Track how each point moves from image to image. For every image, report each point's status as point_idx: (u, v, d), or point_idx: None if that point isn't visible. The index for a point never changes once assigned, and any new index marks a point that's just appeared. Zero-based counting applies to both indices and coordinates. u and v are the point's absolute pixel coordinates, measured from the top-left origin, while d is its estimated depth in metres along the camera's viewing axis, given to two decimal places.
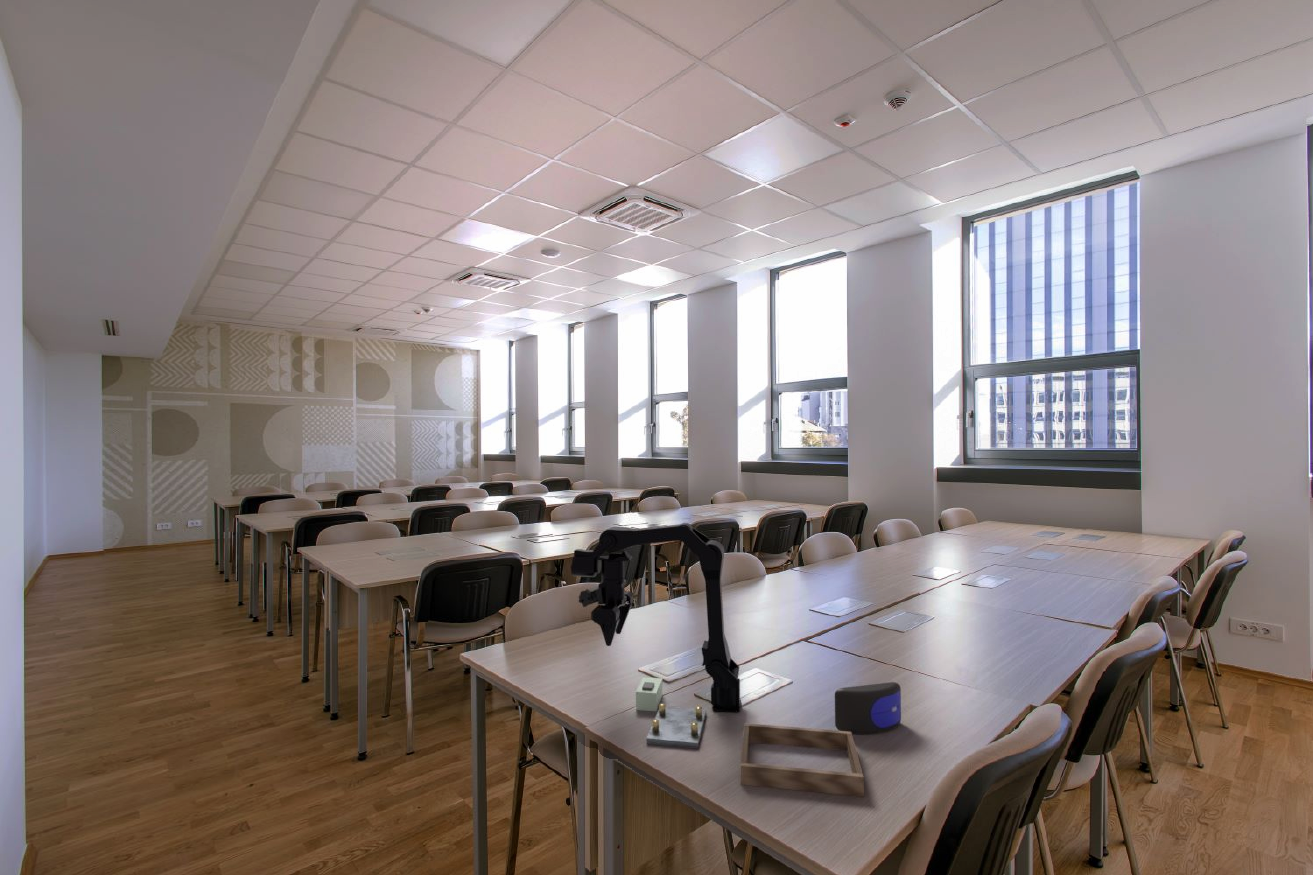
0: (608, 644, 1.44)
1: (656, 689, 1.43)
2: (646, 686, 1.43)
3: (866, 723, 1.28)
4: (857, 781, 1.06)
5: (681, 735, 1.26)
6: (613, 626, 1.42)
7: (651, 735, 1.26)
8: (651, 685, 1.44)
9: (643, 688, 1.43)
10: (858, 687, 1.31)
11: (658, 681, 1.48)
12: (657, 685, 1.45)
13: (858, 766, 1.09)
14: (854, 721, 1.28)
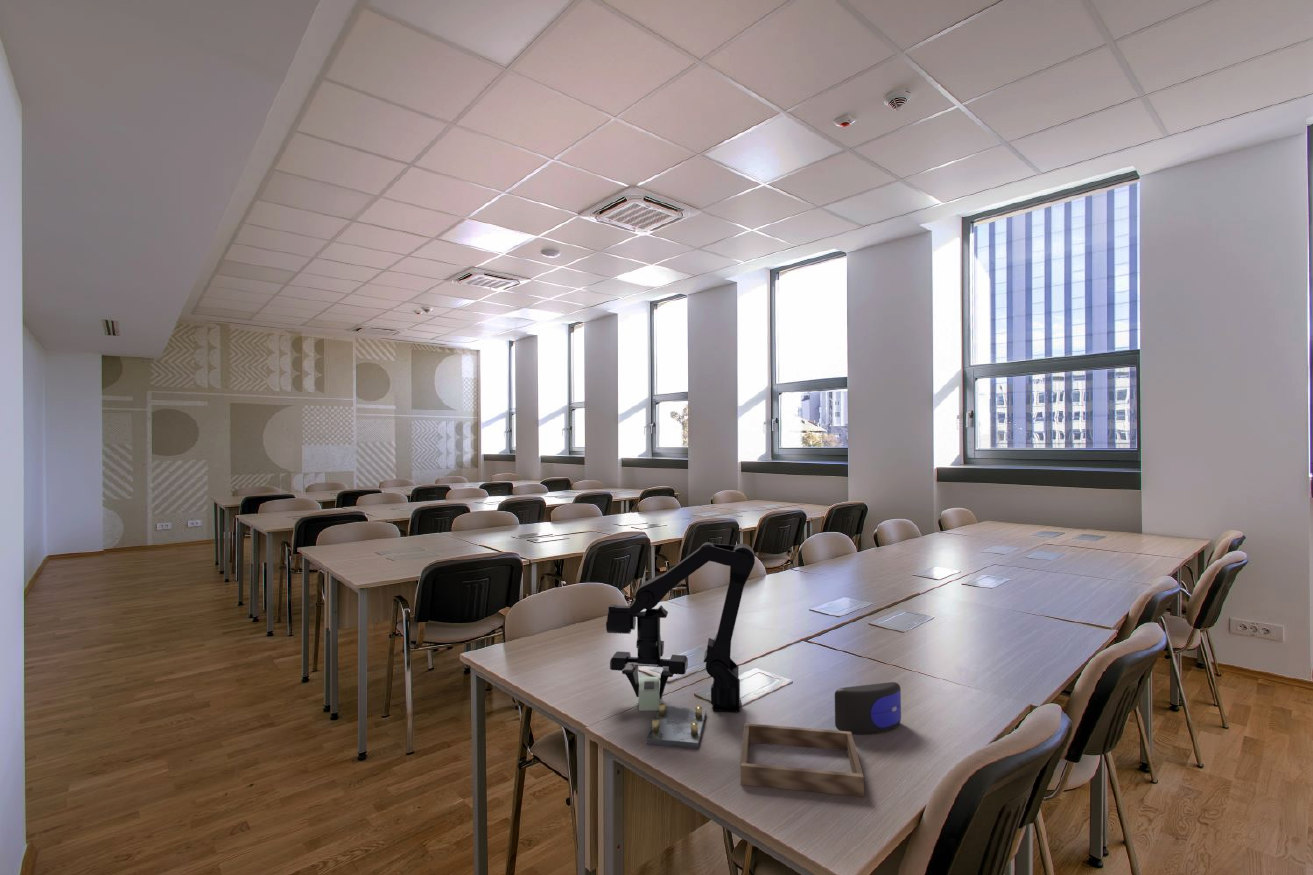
0: None
1: (658, 687, 1.43)
2: (647, 685, 1.43)
3: (866, 722, 1.28)
4: (857, 781, 1.06)
5: (681, 735, 1.26)
6: None
7: (651, 735, 1.26)
8: (652, 684, 1.44)
9: (645, 687, 1.43)
10: (857, 687, 1.31)
11: (656, 680, 1.48)
12: (657, 683, 1.46)
13: (858, 766, 1.09)
14: (854, 721, 1.28)
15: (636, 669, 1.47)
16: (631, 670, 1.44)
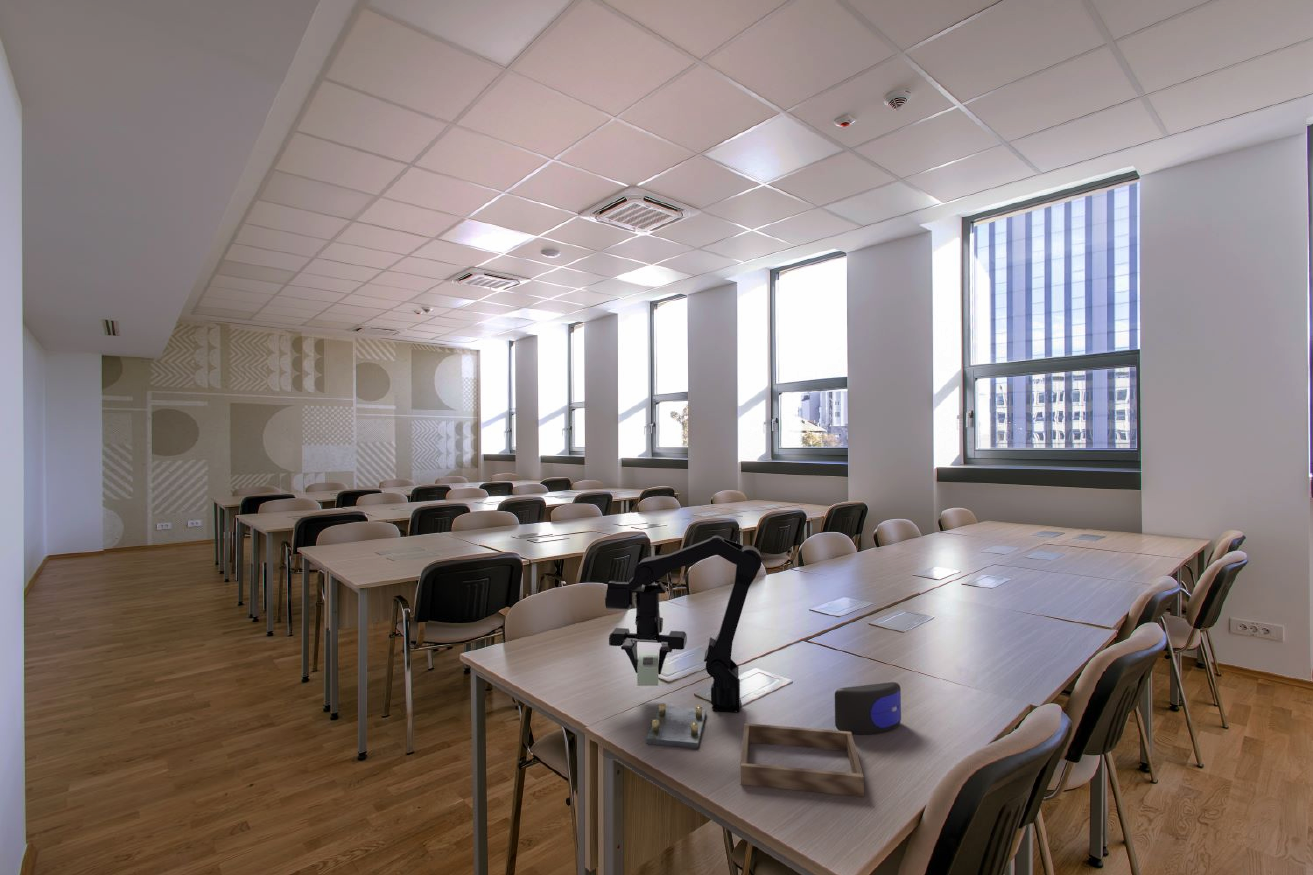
0: None
1: (656, 663, 1.43)
2: (646, 661, 1.43)
3: (866, 723, 1.28)
4: (857, 781, 1.06)
5: (681, 735, 1.26)
6: None
7: (651, 735, 1.26)
8: (651, 660, 1.44)
9: (644, 663, 1.43)
10: (857, 687, 1.31)
11: (655, 656, 1.48)
12: (656, 660, 1.46)
13: (858, 766, 1.09)
14: (854, 721, 1.28)
15: (635, 645, 1.47)
16: (630, 646, 1.45)
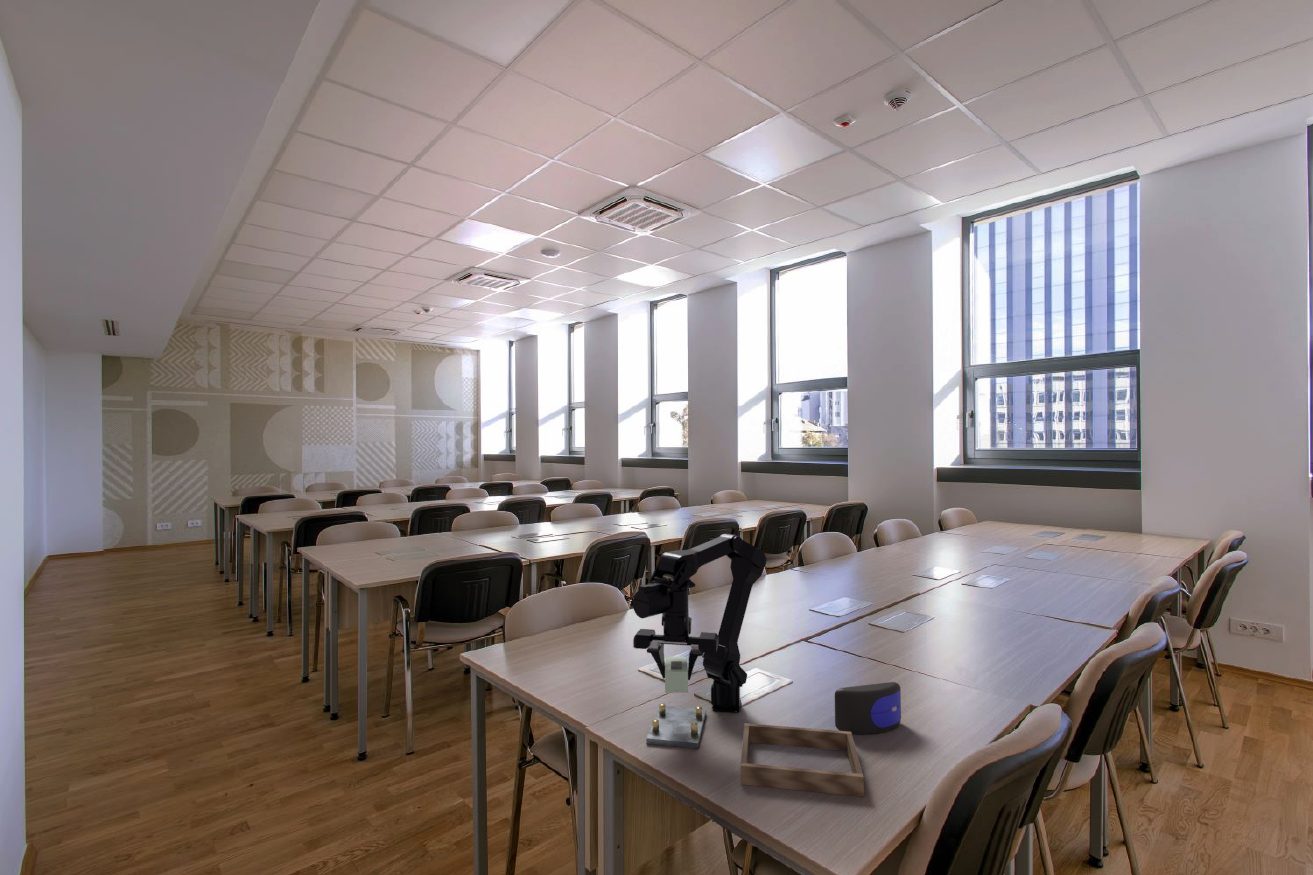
0: None
1: (686, 668, 1.30)
2: (675, 665, 1.30)
3: (866, 722, 1.28)
4: (857, 781, 1.06)
5: (681, 735, 1.26)
6: None
7: (651, 735, 1.26)
8: (680, 664, 1.31)
9: (672, 667, 1.30)
10: (857, 687, 1.31)
11: (684, 660, 1.35)
12: (685, 664, 1.33)
13: (858, 766, 1.09)
14: (854, 721, 1.28)
15: (662, 648, 1.34)
16: (657, 649, 1.31)
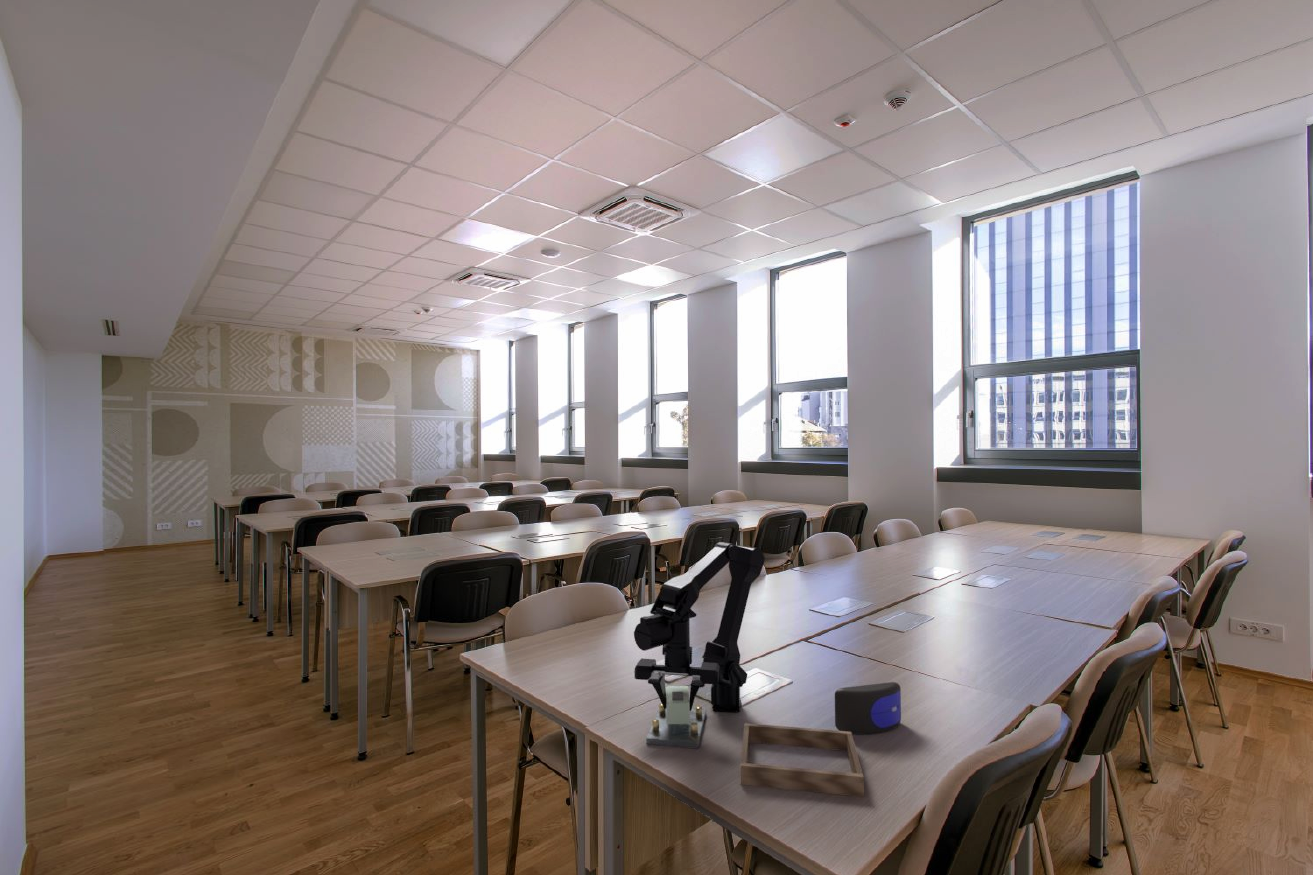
0: None
1: (687, 699, 1.30)
2: (676, 696, 1.30)
3: (866, 723, 1.28)
4: (857, 781, 1.06)
5: (681, 735, 1.26)
6: None
7: (651, 735, 1.26)
8: (681, 695, 1.31)
9: (673, 699, 1.29)
10: (857, 687, 1.31)
11: (685, 690, 1.34)
12: (686, 694, 1.32)
13: (858, 766, 1.09)
14: (854, 721, 1.28)
15: (663, 678, 1.34)
16: (658, 679, 1.31)
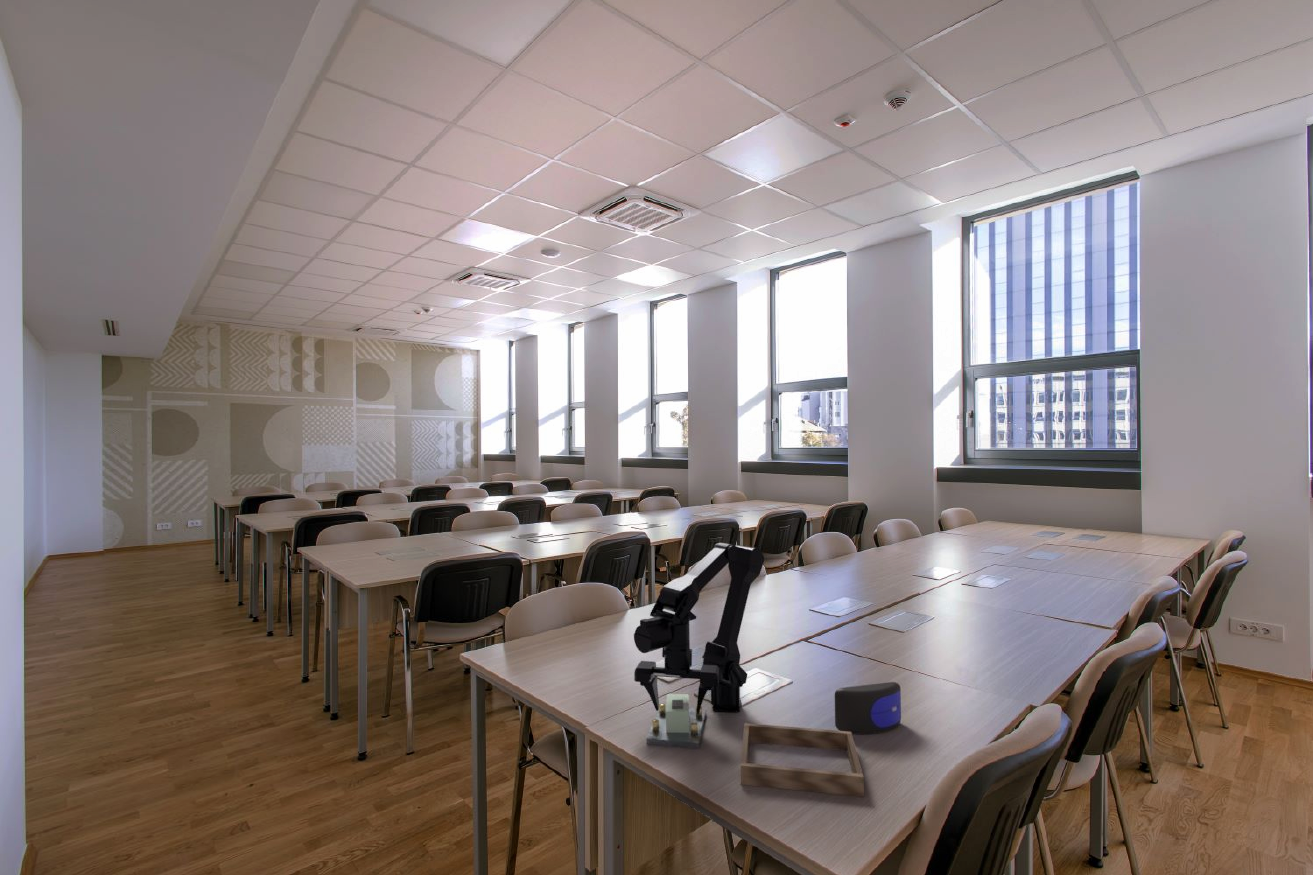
0: None
1: (687, 707, 1.30)
2: (676, 704, 1.30)
3: (866, 722, 1.28)
4: (857, 781, 1.06)
5: (681, 735, 1.26)
6: None
7: (651, 735, 1.26)
8: (681, 703, 1.31)
9: (673, 707, 1.29)
10: (857, 686, 1.31)
11: (685, 698, 1.34)
12: (686, 702, 1.32)
13: (858, 766, 1.09)
14: (854, 721, 1.28)
15: (655, 680, 1.34)
16: (650, 681, 1.31)
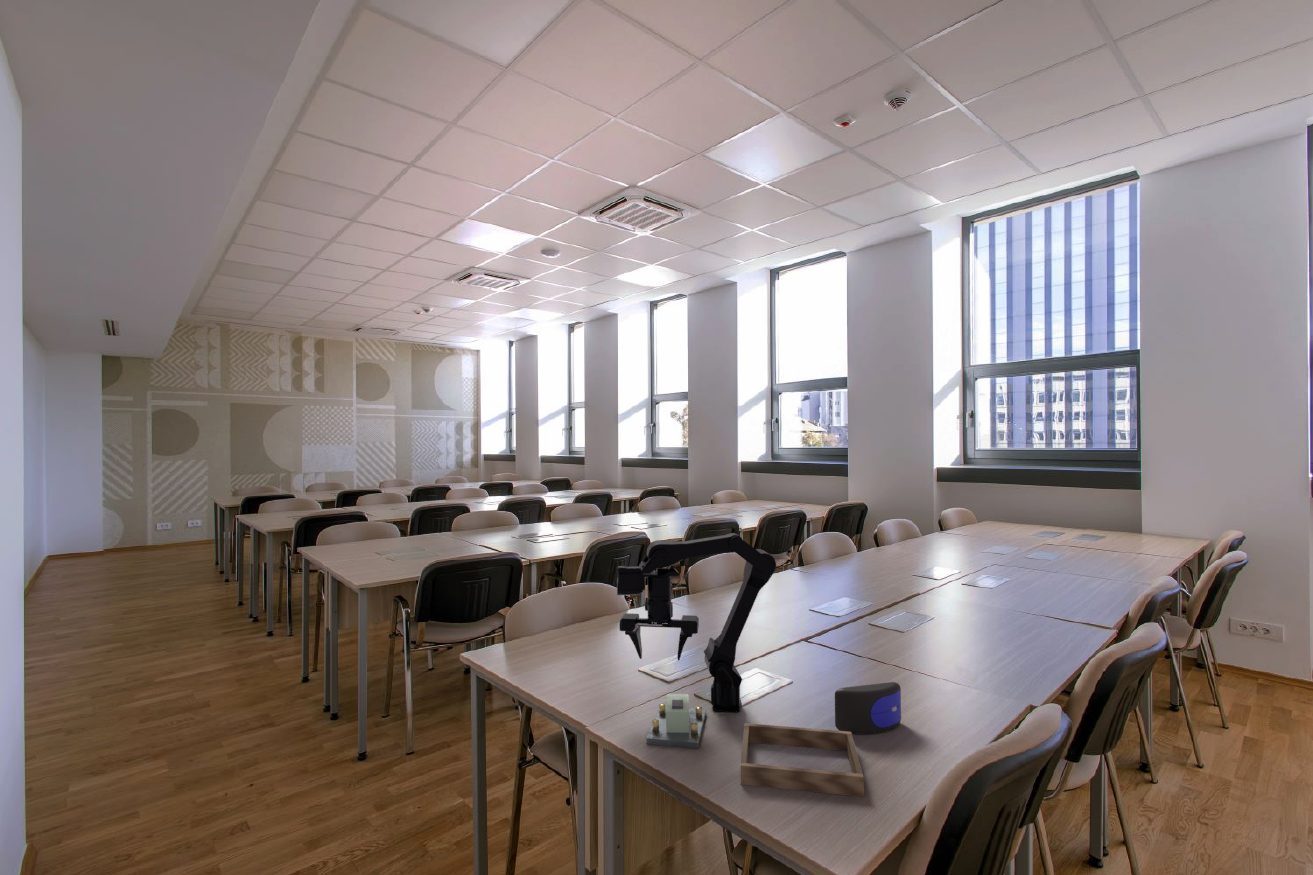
0: None
1: (687, 707, 1.30)
2: (676, 704, 1.30)
3: (866, 722, 1.28)
4: (857, 781, 1.06)
5: (681, 735, 1.26)
6: None
7: (651, 735, 1.26)
8: (681, 703, 1.31)
9: (673, 707, 1.29)
10: (858, 687, 1.31)
11: (685, 698, 1.34)
12: (686, 702, 1.32)
13: (858, 766, 1.09)
14: (854, 721, 1.28)
15: (639, 630, 1.43)
16: (634, 631, 1.41)
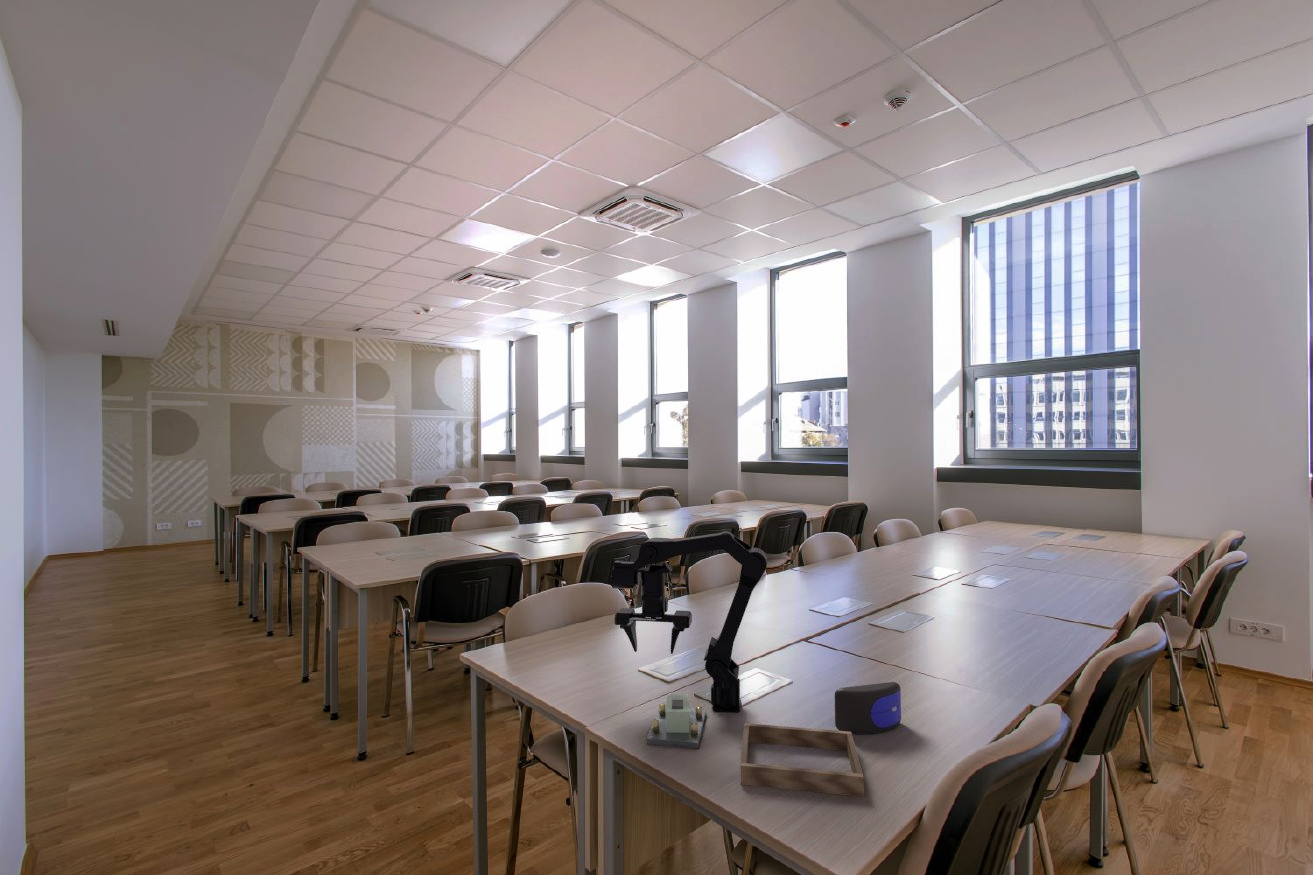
0: None
1: (687, 707, 1.30)
2: (676, 704, 1.30)
3: (866, 722, 1.28)
4: (857, 781, 1.06)
5: (681, 735, 1.26)
6: None
7: (651, 735, 1.26)
8: (681, 703, 1.31)
9: (673, 707, 1.29)
10: (857, 687, 1.31)
11: (685, 698, 1.34)
12: (686, 702, 1.32)
13: (858, 766, 1.09)
14: (854, 721, 1.28)
15: (634, 624, 1.48)
16: (629, 625, 1.46)
